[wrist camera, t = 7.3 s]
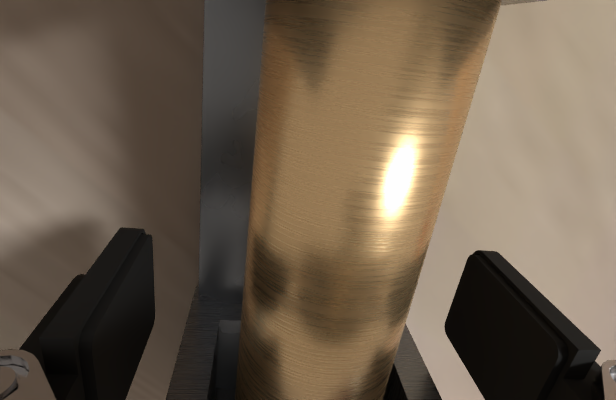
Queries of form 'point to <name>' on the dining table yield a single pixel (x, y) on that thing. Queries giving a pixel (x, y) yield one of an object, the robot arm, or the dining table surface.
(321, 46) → the tube
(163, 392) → the dining table surface
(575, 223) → the dining table surface
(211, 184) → the sleeve socket
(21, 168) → the dining table surface
